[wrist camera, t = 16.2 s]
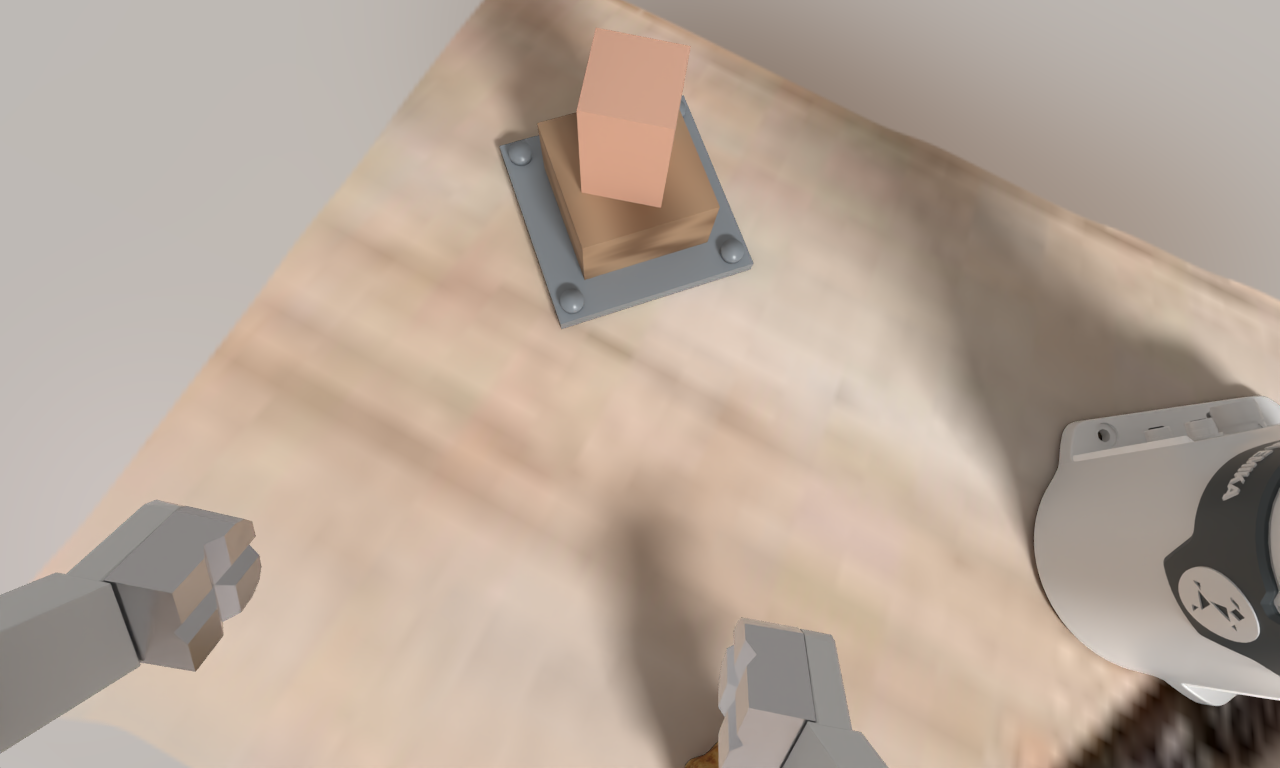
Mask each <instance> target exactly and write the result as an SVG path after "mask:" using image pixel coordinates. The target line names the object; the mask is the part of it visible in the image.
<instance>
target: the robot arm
mask: <svg viewBox="0 0 1280 768" xmlns="http://www.w3.org/2000/svg"><path fill="white" fill-rule="evenodd" d="M1098 432H1099V433H1100V434H1101V435H1102V441H1101V440H1100V439H1099V438H1098ZM255 537H256V535H255V531H254V527H253V523H252V521H249V520H245V519H241V518H237V517H232V516H228V515H224V514H219V513H215V512H210V511H206V510H202V509H197V508H193V507H188V506H183V505H178V504H174V503H169V502H164V501H160V500H154V501H152V502H149V503H147V504H144V505H143V506H142V507H141V508H140V509H138V510H137V511H136V512H135V513H134V514H133V515H132V516H131V517H129V518H128V519H127V520H126V521H125V522H124V523H123V524H122V525H121V526H119V527H118V528H117V529H116V530H115V531H114V532H113V533H112V534H110V535H109V536H108V537H107V538H106V539H105V540H104V541H103V542H102V543H100V544H99V545H98V546H97V547H96V548H95V549H94V550H93V551H91V552H90V553H89V554H88V555H87V556H86V557H85V558H84V559H82V560H81V561H80V562H79V563H78V564H77V565H76V566H75V567H74V568H72V569H71V570H70V571H69V572H68V573H67V574H62V573H54V574H51V575H49V576H46V577H44V578H41V579H39V580H37V581H34V582H32V583H29V584H27V585H24V586H22V587H19V588H17V589H14V590H12V591H9V592H7V593H4V594H2V595H0V753H2V752H4V751H5V750H7V749H8V748H10V747H11V746H13V745H15V744H16V743H18V742H19V741H21V740H23V739H24V738H26V737H27V736H29V735H31V734H32V733H34V732H35V731H37V730H39V729H40V728H42V727H43V726H45V725H47V724H48V723H50V722H51V721H53V720H55V719H56V718H58V717H59V716H61V715H63V714H64V713H66V712H67V711H69V710H71V709H72V708H74V707H75V706H77V705H79V704H80V703H82V702H83V701H85V700H86V699H88V698H90V697H91V696H93V695H94V694H96V693H98V692H99V691H101V690H102V689H104V688H106V687H107V686H109V685H110V684H112V683H114V682H115V681H117V680H118V679H120V678H122V677H123V676H125V675H126V674H128V673H130V672H131V671H133V670H134V669H136V668H137V667H139V666H140V662H141V663H147V664H153V665H159V666H165V667H171V668H177V669H183V670H189V671H195V672H196V670H197V669H198V668H199V667H200V665H201V664H202V663H203V661H204V660H205V659H206V657H207V656H208V655H209V654H210V652H211V651H212V650H213V648H214V647H215V646H216V644H217V643H218V642H219V641H220V639H221V638H222V637H223V621H225V620H227V619H229V618H231V617H233V616H235V615H237V614H239V613H241V612H242V610H243V609H244V608H245V606H246V605H247V603H248V602H249V601H250V599H251V598H252V596H253V594H254V592H255V589H256V587H257V584H258V582H259V580H260V572H261V562H260V556H259V555H258V553H257V552H256V551H255V550H254V549H253V548H252V547H251V546H250V545H249V544H250V543H251V541H252V540H253V539H254V538H255ZM1034 550H1035V558H1036V564H1037V569H1038V573H1039V576H1040V580H1041V582H1042V585H1043V588H1044V590H1045V593H1046V595H1047V597H1048V599H1049V601H1050V603H1051V605H1052V606H1053V608H1054V610H1055V611H1056V613H1057V614H1058V616H1059V617H1060V619H1061V620H1062V622H1063V623H1064V624H1065V625H1066V627H1067V628H1068V629H1069V630H1070V631H1071V632H1072V633H1073V634H1074V635H1075V637H1076V638H1077V639H1079V640H1080V641H1081V642H1082V643H1083V644H1084V645H1085V646H1087V647H1088V648H1089V649H1090V650H1092V651H1093V652H1095V653H1096V654H1097V655H1099V656H1101V657H1102V658H1104V659H1106V660H1107V661H1109V662H1112V663H1114V664H1116V665H1118V666H1121V667H1123V668H1126V669H1129V670H1132V671H1136V672H1140V673H1144V674H1148V675H1152V676H1155V677H1158V678H1160V679H1162V680H1164V681H1166V682H1167V683H1168V684H1170V685H1171V686H1172V687H1174V688H1175V689H1176V690H1178V691H1179V692H1180V693H1182V694H1183V695H1185V696H1186V697H1188V698H1189V699H1191V700H1193V701H1195V702H1197V703H1200V704H1206V705H1213V706H1220V705H1224V704H1225V703H1227V702H1228V701H1230V700H1231V699H1232V698H1233V697H1235V696H1236V695H1237V694H1241V695H1247V696H1253V697H1260V698H1266V699H1273V700H1280V405H1278V404H1277V403H1275V402H1274V401H1273V400H1271V399H1269V398H1268V397H1265V396H1249V397H1240V398H1233V399H1226V400H1219V401H1212V402H1205V403H1198V404H1192V405H1185V406H1178V407H1171V408H1164V409H1157V410H1150V411H1144V412H1137V413H1130V414H1123V415H1116V416H1109V417H1102V418H1096V419H1089V420H1082V421H1076V422H1072V423H1070V424H1069V425H1067V426H1066V428H1065V429H1064V431H1063V434H1062V438H1061V444H1060V455H1059V466H1058V469H1057V471H1056V473H1055V475H1054V477H1053V479H1052V481H1051V482H1050V484H1049V486H1048V488H1047V489H1046V491H1045V493H1044V495H1043V497H1042V500H1041V503H1040V505H1039V509H1038V512H1037V516H1036V521H1035V529H1034ZM718 707H719V709H720V711H721V712H722V714H723V715H724V717H725V718H724V720H723V723H722V725H721V728H720V730H719V733H718V752H719V768H888V767H887V765H886V764H885V763H884V761H883V760H882V759H881V757H880V756H879V755H878V753H877V752H876V751H875V749H874V748H873V747H872V746H871V744H870V743H869V742H868V740H867V739H866V738H865V736H864V735H863V734H862V732H858V731H854V730H852V727H851V722H850V716H849V711H848V706H847V701H846V696H845V691H844V685H843V680H842V675H841V670H840V665H839V660H838V654H837V649H836V644H835V640H834V639H833V637H832V636H831V635H829V634H824V633H819V632H814V631H809V630H804V629H799V628H797V627H791V626H786V625H780V624H775V623H770V622H764V621H759V620H754V619H748V618H743V617H741V618H740V619H739V620H738V622H737V624H736V627H735V629H734V645H732V646H731V647H729V648H727V650H726V653H725V656H724V658H723V661H722V666H721V671H720V676H719V687H718Z"/></svg>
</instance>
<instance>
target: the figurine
mask: <svg viewBox="0 0 1280 768" xmlns="http://www.w3.org/2000/svg"><path fill="white" fill-rule="evenodd" d="M685 768H719V752H718V742H717V743H716V744H715V745H714V746H713V747H712V749H711V750H710V751H708V752H707V753H706V754H705V755H702V756H699V757H696V758H693V759H690V760H689V761H688V762H687V764H686V765H685Z"/></svg>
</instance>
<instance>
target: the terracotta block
mask: <svg viewBox="0 0 1280 768" xmlns="http://www.w3.org/2000/svg"><path fill="white" fill-rule="evenodd" d="M690 47H691V46H687V45H682V44H677V43H672V42H667V41H662V40H657V39H651V38H646V37H641V36H636V35H631V34H626V33H621V32H616V31H611V30H605V29H600V28H596V29H595V34H594V38H593V42H592V47H591V51H590V55H589V59H588V64H587V68H586V72H585V77H584V81H583V85H582V89H581V94H580V98H579V102H578V107H577V125H578V142H579V159H580V176H581V193H586V194H592V195H597V196H602V197H607V198H612V199H618V200H623V201H628V202H633V203H638V204H644V205H649V206H654V207H659V208H661V205H662V199H663V194H664V189H665V184H666V178H667V173H668V168H669V163H670V157H671V152H672V147H673V141H674V136H675V131H676V125H677V119H678V114H679V108H680V103H681V97H682V92H683V86H684V81H685V75H686V70H687V64H688V58H689V53H690Z"/></svg>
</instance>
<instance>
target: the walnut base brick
mask: <svg viewBox="0 0 1280 768" xmlns="http://www.w3.org/2000/svg"><path fill="white" fill-rule="evenodd" d="M537 124H538V131H539V137H540V143H541V150H542V156H543V163H544V168H545V171H546V173H547V176H548V179H549V182H550V185H551V187H552V190H553V193H554V196H555V199H556V201H557V204H558V207H559V210H560V213H561V215H562V218H563V221H564V224H565V227H566V229H567V232H568V235H569V238H570V241H571V243H572V246H573V249H574V252H575V255H576V257H577V260H578V263H579V266H580V269H581V271H582V274H583V277H584V280H586V279H589V278H593V277H596V276H599V275H602V274H606V273H609V272H612V271H615V270H619V269H622V268H625V267H628V266H632V265H635V264H638V263H641V262H645V261H648V260H651V259H654V258H658V257H661V256H664V255H667V254H670V253H674V252H677V251H680V250H683V249H687V248H690V247H693V246H696V245H700V244H703V243H706V242H708V239H709V236H710V233H711V230H712V228H713V225H714V222H715V219H716V216H717V214H718V211H719V208H720V206H719V204H718V201H717V199H716V196H715V194H714V191H713V189H712V187H711V184H710V182H709V179H708V177H707V174H706V172H705V170H704V167H703V165H702V162H701V160H700V158H699V155H698V153H697V150H696V148H695V145H694V143H693V141H692V138H691V136H690V133H689V131H688V128H687V126H686V124H685V121H684V119H683V116H682V114H681V111H680V109H679V114H678V119H677V125H676V131H675V136H674V141H673V147H672V152H671V157H670V163H669V168H668V173H667V178H666V184H665V189H664V194H663V199H662V205H661V208H659V207H654V206H649V205H644V204H638V203H633V202H628V201H623V200H618V199H612V198H607V197H602V196H597V195H592V194H586V193H581V176H580V159H579V142H578V125H577V112H576V113H572V114H569V115H565V116H561V117H558V118H554V119H551V120H547V121H543V122H540V123H537Z"/></svg>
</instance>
